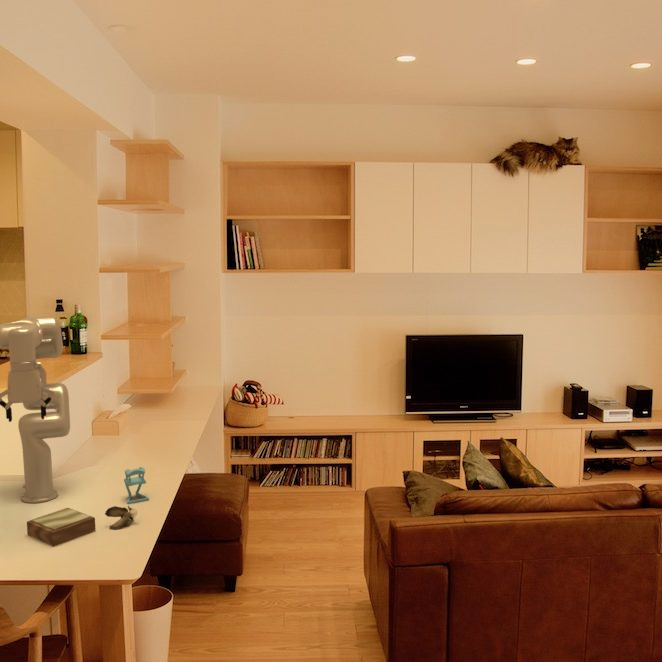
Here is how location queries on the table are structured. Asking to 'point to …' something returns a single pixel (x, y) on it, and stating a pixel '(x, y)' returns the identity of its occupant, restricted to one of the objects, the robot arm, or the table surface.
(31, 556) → the table surface
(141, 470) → the chair
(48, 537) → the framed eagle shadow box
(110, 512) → the eagle figurine
